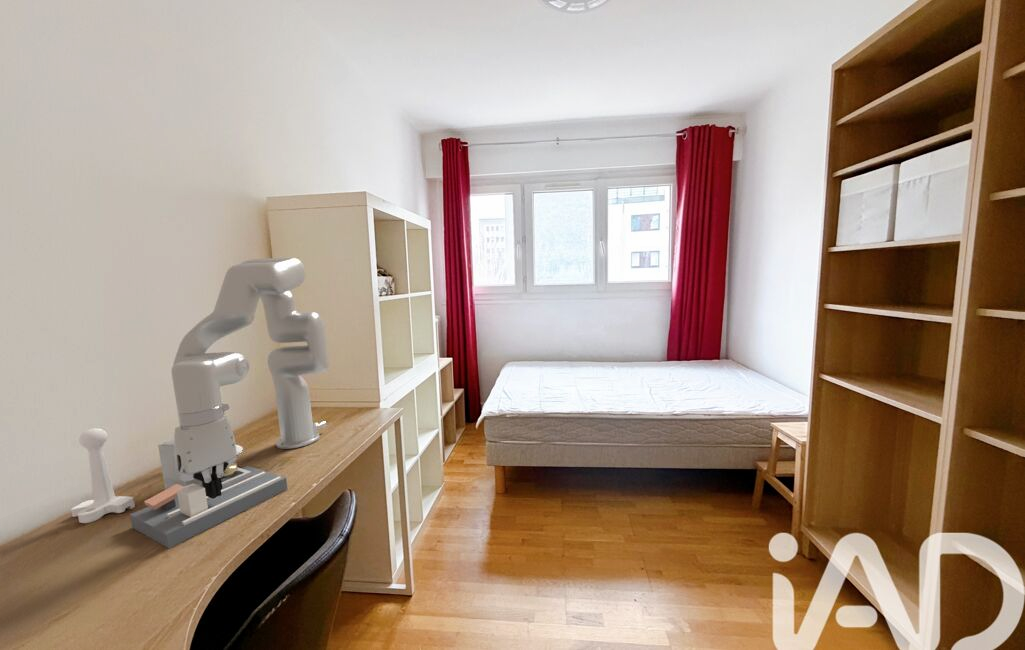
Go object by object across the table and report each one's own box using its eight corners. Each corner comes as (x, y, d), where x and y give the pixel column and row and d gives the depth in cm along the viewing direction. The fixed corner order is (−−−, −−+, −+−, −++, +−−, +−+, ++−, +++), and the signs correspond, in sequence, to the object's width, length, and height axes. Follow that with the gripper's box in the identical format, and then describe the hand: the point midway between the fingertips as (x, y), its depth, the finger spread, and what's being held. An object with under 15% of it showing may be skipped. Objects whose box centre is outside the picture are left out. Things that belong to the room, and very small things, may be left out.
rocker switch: (178, 487, 91) (176, 483, 90) (187, 491, 89) (185, 487, 88) (145, 505, 86) (144, 501, 85) (154, 509, 83) (153, 505, 83)
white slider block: (196, 504, 87) (193, 483, 86) (208, 509, 84) (204, 487, 84) (180, 512, 84) (176, 490, 84) (191, 517, 82) (188, 494, 81)
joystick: (139, 503, 95) (126, 423, 93) (109, 522, 88) (94, 436, 86) (91, 507, 95) (76, 427, 93) (57, 526, 87) (40, 439, 85)
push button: (231, 468, 101) (230, 461, 100) (241, 472, 98) (240, 464, 98) (212, 476, 97) (211, 469, 96) (221, 480, 95) (220, 472, 94)
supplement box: (187, 493, 99) (180, 445, 98) (164, 491, 101) (156, 444, 99) (215, 478, 106) (208, 433, 105) (192, 477, 108) (186, 433, 106)
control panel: (249, 476, 106) (246, 460, 106) (287, 489, 98) (285, 472, 98) (132, 527, 85) (128, 507, 85) (168, 548, 77) (165, 527, 77)
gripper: (229, 403, 94) (240, 476, 96) (150, 426, 81) (164, 510, 83) (247, 407, 90) (258, 482, 92) (167, 431, 77) (182, 518, 79)
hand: (213, 495), depth 88 cm, fingers closed
